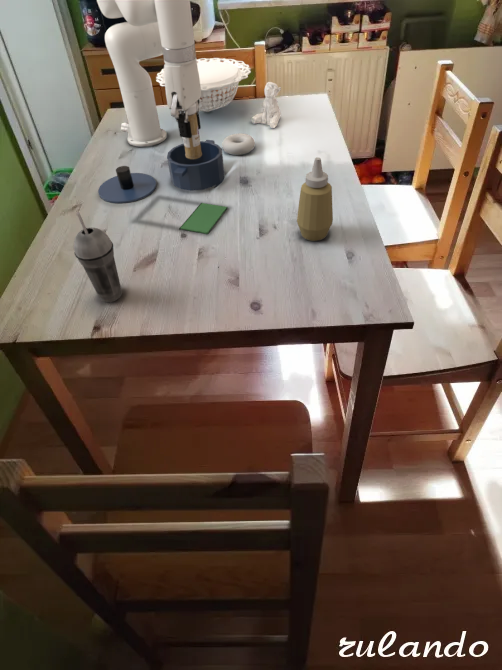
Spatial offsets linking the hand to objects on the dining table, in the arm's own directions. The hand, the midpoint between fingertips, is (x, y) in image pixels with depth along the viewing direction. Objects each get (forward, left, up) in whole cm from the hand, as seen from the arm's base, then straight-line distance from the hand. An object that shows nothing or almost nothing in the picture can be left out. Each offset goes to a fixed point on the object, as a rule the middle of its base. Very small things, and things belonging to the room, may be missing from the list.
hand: (190, 132), depth 119 cm
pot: (0, 0, -13) cm, 13 cm away
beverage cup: (+4, -50, -13) cm, 52 cm away
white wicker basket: (-18, +45, -13) cm, 50 cm away
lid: (-16, -11, -12) cm, 23 cm away
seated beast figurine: (+6, +42, -13) cm, 44 cm away
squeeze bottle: (+38, -17, -13) cm, 44 cm away
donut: (+4, +20, -13) cm, 24 cm away
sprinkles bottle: (0, 0, -7) cm, 7 cm away
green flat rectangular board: (+4, -18, -13) cm, 23 cm away
